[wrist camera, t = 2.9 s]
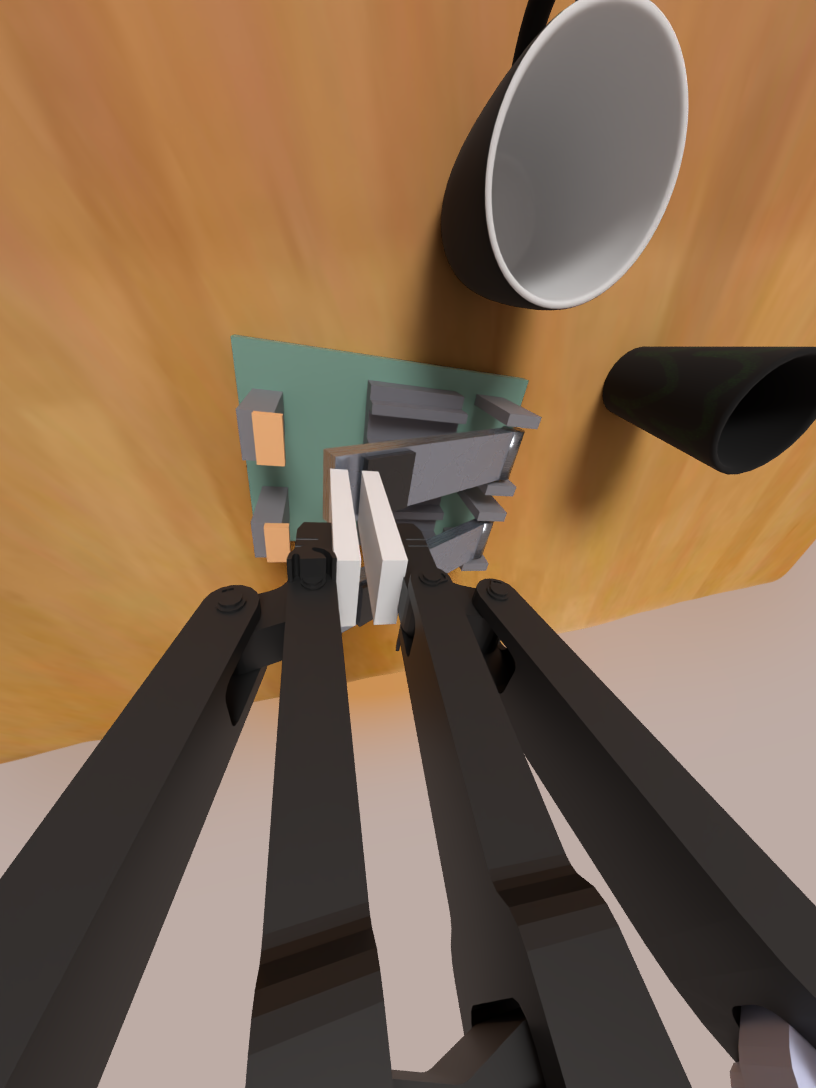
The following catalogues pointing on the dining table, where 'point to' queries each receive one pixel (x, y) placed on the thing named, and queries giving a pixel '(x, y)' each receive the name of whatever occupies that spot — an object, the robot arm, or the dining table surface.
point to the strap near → (425, 465)
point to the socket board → (356, 430)
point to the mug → (569, 156)
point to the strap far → (436, 558)
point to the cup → (717, 400)
